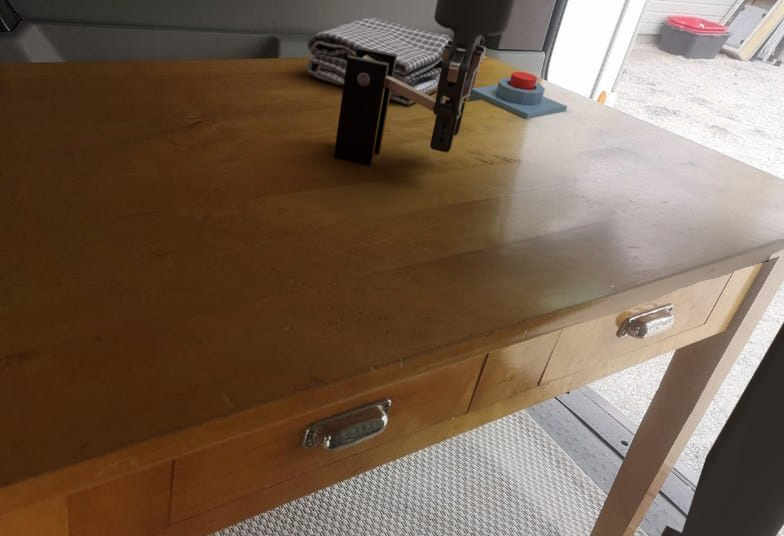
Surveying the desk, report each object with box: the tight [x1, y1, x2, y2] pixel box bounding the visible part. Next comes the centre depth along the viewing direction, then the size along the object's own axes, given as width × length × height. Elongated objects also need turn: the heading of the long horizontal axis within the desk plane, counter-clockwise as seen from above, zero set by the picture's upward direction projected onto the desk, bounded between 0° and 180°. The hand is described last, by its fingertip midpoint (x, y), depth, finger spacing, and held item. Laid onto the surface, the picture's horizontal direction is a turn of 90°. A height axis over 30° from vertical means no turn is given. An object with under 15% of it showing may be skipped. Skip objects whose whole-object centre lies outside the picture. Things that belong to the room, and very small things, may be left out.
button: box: [509, 71, 538, 90], centre depth 110 cm, size 4×4×2 cm
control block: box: [467, 77, 568, 120], centre depth 112 cm, size 11×9×4 cm
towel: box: [305, 17, 452, 106], centre depth 115 cm, size 15×18×8 cm
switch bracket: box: [333, 47, 397, 167], centre depth 86 cm, size 12×9×13 cm
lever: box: [363, 55, 462, 112], centre depth 84 cm, size 12×5×2 cm, turn 72°
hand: (444, 140), depth 85 cm, fingers closed on lever, 5 cm apart
